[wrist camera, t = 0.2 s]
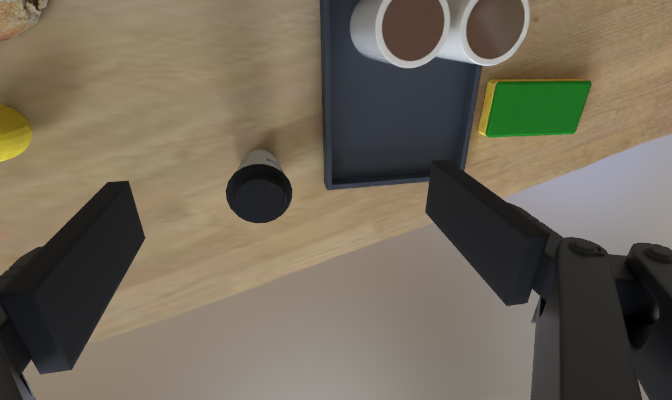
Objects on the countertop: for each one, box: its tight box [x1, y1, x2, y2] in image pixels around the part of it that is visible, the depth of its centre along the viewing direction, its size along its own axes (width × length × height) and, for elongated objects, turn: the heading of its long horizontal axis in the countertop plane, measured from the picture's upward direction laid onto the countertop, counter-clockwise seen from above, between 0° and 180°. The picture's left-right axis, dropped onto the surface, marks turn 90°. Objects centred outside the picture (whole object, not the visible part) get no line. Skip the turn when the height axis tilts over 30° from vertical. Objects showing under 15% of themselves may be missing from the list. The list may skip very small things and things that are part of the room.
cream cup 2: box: [435, 0, 530, 66], centre depth 36 cm, size 7×7×10 cm
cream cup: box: [350, 0, 450, 68], centre depth 35 cm, size 7×7×10 cm
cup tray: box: [320, 0, 482, 190], centre depth 43 cm, size 24×19×2 cm
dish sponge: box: [478, 79, 591, 137], centre depth 47 cm, size 7×14×2 cm, turn 89°
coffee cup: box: [226, 149, 292, 223], centre depth 40 cm, size 7×7×10 cm
